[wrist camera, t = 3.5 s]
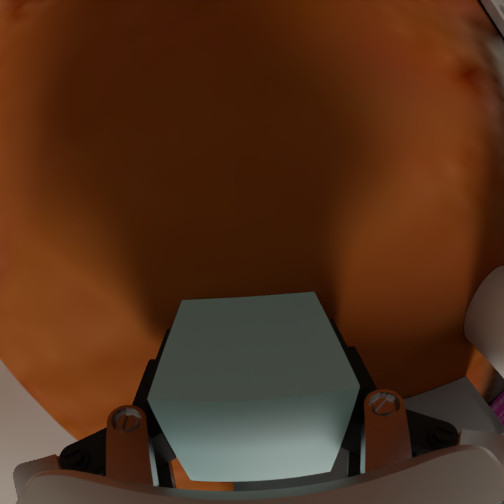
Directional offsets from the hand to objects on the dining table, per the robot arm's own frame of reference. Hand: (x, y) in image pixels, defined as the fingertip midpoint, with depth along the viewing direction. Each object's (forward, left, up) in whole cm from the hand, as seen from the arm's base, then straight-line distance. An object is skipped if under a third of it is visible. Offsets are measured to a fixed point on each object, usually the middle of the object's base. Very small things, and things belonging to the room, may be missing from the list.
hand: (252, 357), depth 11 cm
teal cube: (0, 0, -1) cm, 1 cm away
